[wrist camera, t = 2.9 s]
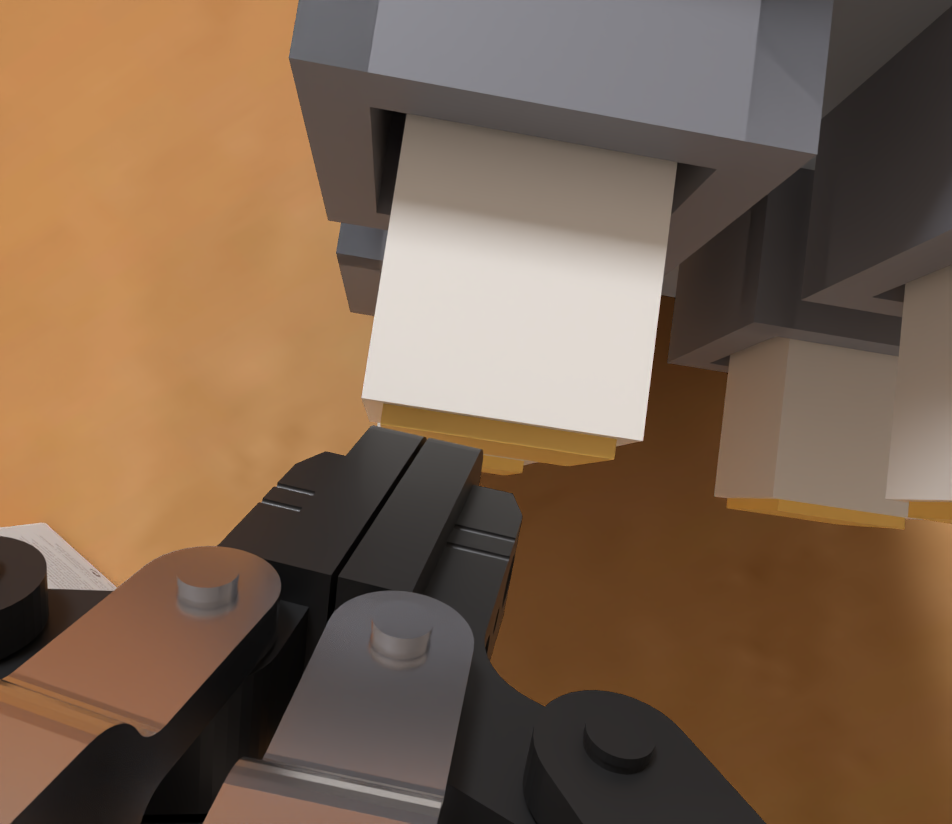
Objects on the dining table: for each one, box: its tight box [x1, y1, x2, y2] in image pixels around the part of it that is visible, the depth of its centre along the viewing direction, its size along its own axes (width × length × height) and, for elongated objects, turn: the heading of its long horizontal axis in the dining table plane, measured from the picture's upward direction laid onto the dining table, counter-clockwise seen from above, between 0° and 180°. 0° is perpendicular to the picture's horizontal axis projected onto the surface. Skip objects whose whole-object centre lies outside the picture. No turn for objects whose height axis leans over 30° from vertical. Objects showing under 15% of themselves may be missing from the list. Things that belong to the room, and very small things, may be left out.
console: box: [289, 0, 952, 373], centre depth 22 cm, size 18×10×24 cm, turn 82°
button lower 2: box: [714, 336, 923, 529], centre depth 24 cm, size 4×5×4 cm
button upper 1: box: [362, 114, 677, 466], centre depth 14 cm, size 4×5×4 cm
